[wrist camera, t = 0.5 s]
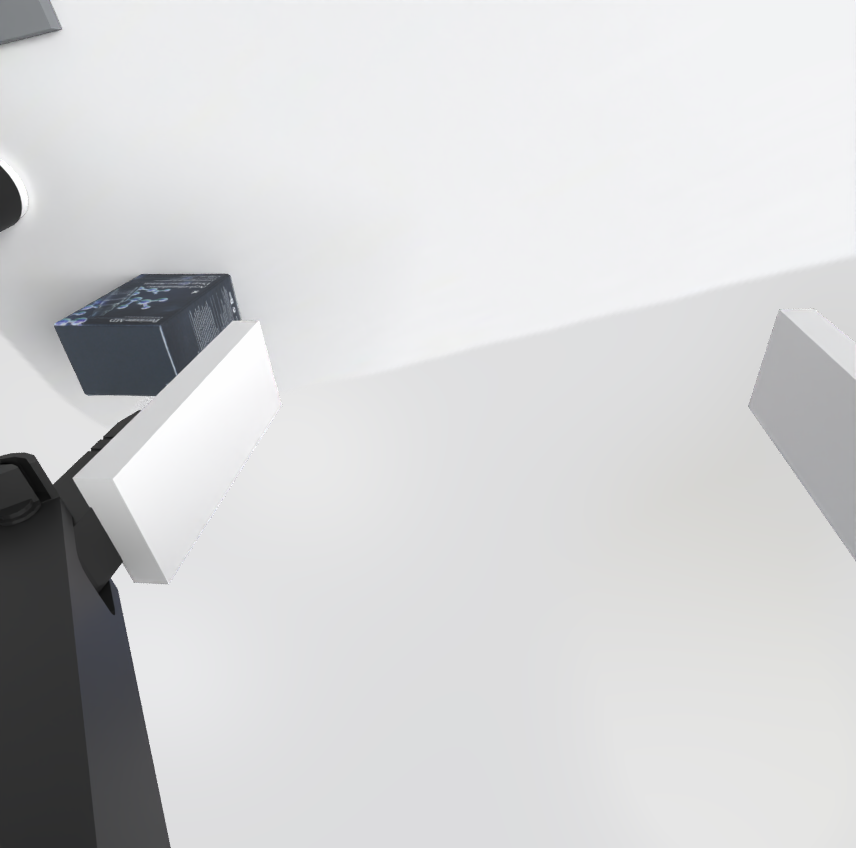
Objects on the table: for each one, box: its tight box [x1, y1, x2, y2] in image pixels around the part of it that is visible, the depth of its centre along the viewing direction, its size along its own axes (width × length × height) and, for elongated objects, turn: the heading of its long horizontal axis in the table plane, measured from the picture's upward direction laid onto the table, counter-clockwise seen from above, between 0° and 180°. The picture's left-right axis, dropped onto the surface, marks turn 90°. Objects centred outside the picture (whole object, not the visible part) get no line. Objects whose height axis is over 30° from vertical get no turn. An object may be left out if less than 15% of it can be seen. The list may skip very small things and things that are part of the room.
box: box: [54, 274, 242, 396], centre depth 40 cm, size 8×6×11 cm
